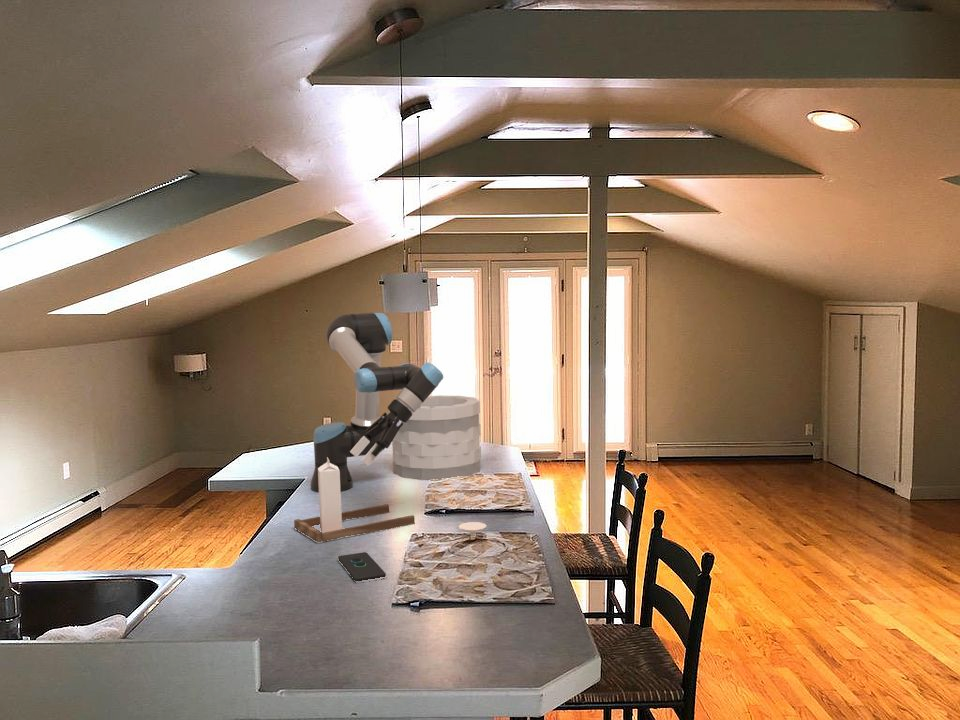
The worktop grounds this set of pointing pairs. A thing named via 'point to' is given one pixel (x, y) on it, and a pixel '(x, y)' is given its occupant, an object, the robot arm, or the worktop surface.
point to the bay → (318, 536)
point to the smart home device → (361, 566)
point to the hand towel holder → (472, 527)
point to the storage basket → (439, 440)
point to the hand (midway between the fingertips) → (358, 458)
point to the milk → (329, 497)
